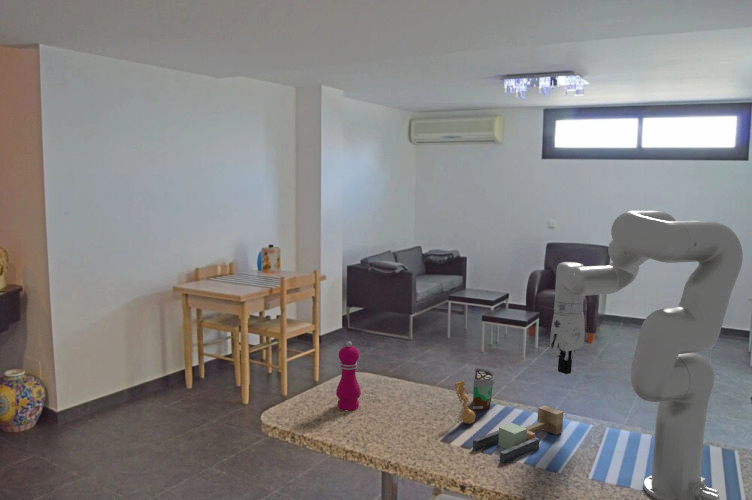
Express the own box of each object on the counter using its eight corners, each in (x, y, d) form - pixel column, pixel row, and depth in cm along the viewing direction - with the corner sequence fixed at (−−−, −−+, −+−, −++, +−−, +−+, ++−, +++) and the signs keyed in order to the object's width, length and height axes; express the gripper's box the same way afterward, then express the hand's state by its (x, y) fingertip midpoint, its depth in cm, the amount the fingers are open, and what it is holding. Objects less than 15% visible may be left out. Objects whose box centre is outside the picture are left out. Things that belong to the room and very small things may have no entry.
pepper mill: (332, 409, 181) (333, 343, 178) (341, 401, 187) (341, 337, 185) (355, 412, 179) (356, 345, 176) (363, 404, 185) (364, 339, 183)
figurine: (471, 429, 168) (473, 387, 166) (450, 426, 170) (451, 384, 168) (477, 418, 175) (479, 378, 174) (457, 415, 178) (458, 375, 176)
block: (526, 447, 158) (527, 428, 157) (513, 452, 154) (514, 433, 154) (510, 440, 161) (511, 422, 161) (498, 445, 158) (499, 427, 158)
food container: (493, 415, 179) (495, 381, 178) (472, 413, 180) (473, 379, 179) (494, 400, 191) (495, 368, 190) (474, 398, 192) (475, 367, 191)
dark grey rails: (539, 448, 157) (539, 439, 157) (503, 463, 148) (504, 453, 148) (508, 435, 164) (508, 426, 164) (472, 449, 156) (473, 439, 155)
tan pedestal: (563, 432, 166) (564, 412, 166) (531, 446, 158) (532, 424, 157) (542, 424, 171) (543, 405, 171) (510, 437, 163) (511, 416, 162)
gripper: (564, 313, 160) (560, 381, 163) (596, 306, 170) (591, 371, 172) (540, 308, 166) (536, 374, 168) (572, 301, 175) (568, 364, 178)
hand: (564, 372), depth 170 cm, fingers closed
